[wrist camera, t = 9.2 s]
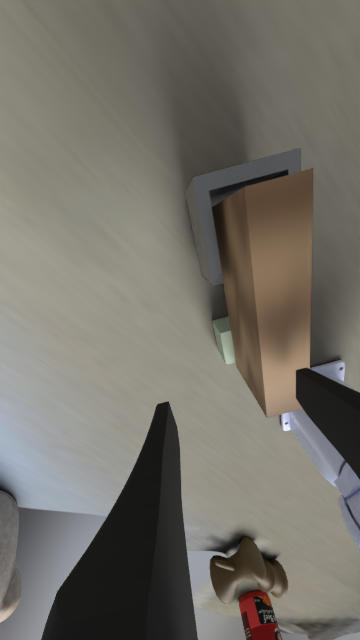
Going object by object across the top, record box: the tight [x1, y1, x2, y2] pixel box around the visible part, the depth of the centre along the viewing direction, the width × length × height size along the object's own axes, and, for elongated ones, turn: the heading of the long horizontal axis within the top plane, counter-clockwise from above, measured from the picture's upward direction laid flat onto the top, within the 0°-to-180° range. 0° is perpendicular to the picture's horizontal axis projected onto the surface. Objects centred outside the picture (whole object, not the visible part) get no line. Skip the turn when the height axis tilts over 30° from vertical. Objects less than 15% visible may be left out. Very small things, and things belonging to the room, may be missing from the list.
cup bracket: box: [185, 148, 301, 286], centre depth 15 cm, size 6×6×6 cm
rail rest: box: [212, 316, 236, 365], centre depth 20 cm, size 4×5×3 cm
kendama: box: [210, 537, 288, 604], centre depth 39 cm, size 6×10×20 cm
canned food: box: [239, 591, 282, 640], centre depth 46 cm, size 8×8×11 cm
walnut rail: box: [212, 168, 313, 418], centre depth 14 cm, size 14×3×6 cm, turn 14°
